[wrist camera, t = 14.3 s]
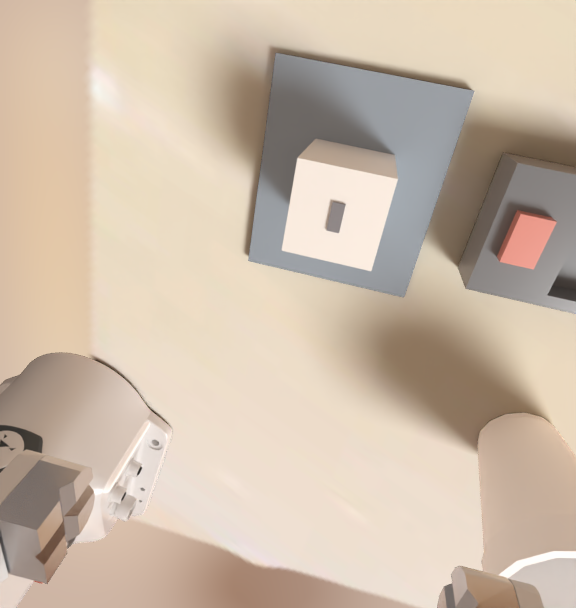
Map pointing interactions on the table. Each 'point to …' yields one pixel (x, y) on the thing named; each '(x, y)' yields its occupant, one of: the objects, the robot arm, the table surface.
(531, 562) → the foam cup
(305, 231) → the block
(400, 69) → the table surface
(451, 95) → the rubber mat
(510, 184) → the power strip
